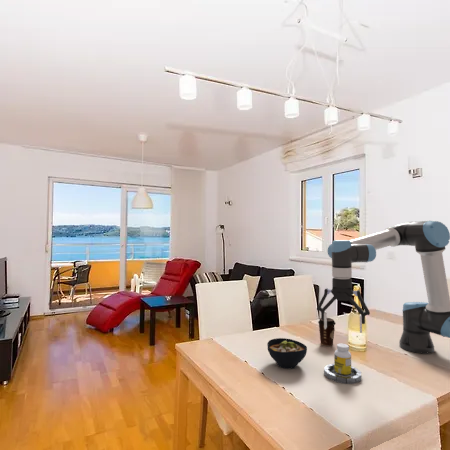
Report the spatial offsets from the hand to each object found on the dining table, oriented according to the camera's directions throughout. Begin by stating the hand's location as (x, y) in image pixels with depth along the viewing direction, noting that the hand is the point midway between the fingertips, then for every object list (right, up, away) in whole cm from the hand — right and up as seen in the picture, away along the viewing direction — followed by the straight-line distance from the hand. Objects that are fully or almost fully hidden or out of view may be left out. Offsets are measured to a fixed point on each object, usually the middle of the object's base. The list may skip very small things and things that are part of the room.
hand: (342, 329), depth 129 cm
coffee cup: (+5, -20, +36) cm, 42 cm away
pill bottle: (0, -18, -1) cm, 18 cm away
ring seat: (0, -18, -1) cm, 18 cm away
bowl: (-21, -19, +10) cm, 30 cm away
